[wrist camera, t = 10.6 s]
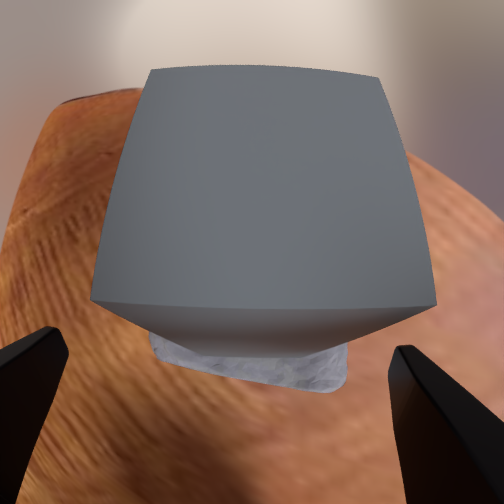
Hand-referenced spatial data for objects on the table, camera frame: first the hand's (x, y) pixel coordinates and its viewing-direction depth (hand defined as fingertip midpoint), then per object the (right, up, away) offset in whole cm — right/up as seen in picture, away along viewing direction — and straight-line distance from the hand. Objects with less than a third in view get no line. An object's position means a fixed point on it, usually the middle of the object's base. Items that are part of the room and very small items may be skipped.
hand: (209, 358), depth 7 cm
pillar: (+1, 0, +9) cm, 9 cm away
